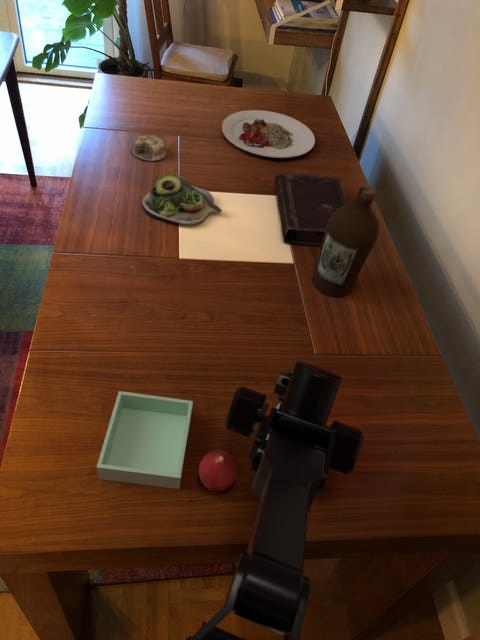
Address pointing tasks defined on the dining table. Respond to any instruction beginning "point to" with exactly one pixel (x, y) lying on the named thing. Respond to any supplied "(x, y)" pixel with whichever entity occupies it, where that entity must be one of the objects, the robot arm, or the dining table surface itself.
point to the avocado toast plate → (178, 201)
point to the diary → (307, 206)
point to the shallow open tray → (146, 440)
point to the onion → (217, 470)
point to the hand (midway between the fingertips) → (294, 417)
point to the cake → (148, 148)
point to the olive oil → (346, 245)
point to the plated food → (268, 134)
